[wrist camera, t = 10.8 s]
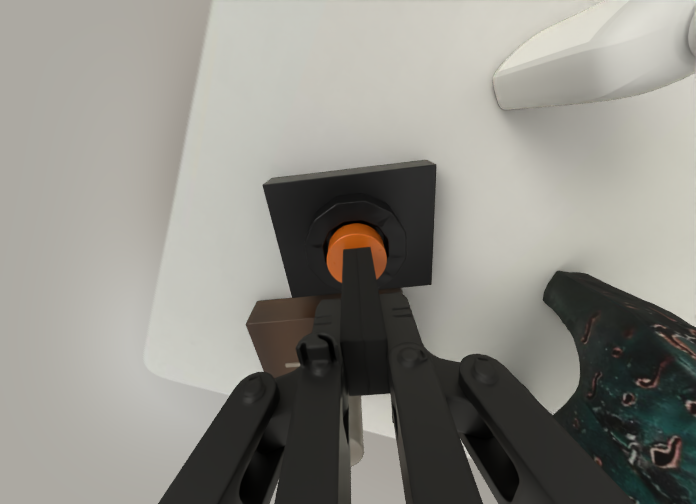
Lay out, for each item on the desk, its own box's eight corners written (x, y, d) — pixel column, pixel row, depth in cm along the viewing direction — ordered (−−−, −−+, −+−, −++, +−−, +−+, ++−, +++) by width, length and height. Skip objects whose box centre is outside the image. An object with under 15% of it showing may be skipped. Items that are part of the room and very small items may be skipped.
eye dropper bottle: (500, 22, 14) (956, -280, 4) (600, 18, 14) (1369, -297, 4) (483, 110, 16) (745, 87, 6) (571, 108, 16) (1007, 80, 6)
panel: (282, 374, 28) (275, 403, 25) (256, 300, 23) (244, 325, 20) (402, 364, 27) (409, 392, 24) (400, 287, 22) (408, 310, 20)
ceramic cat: (518, 408, 31) (758, 811, 13) (465, 406, 30) (635, 813, 12) (609, 266, 22) (1874, 957, 4) (535, 260, 21) (1517, 976, 3)
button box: (297, 282, 22) (287, 313, 19) (271, 177, 18) (252, 191, 15) (423, 270, 22) (439, 299, 18) (426, 159, 18) (447, 168, 14)
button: (332, 274, 18) (331, 289, 16) (324, 226, 16) (322, 237, 14) (384, 269, 17) (388, 283, 16) (381, 219, 16) (385, 230, 14)
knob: (361, 375, 23) (366, 474, 17) (313, 379, 23) (300, 478, 17) (356, 340, 21) (360, 437, 15) (304, 345, 21) (286, 442, 15)
